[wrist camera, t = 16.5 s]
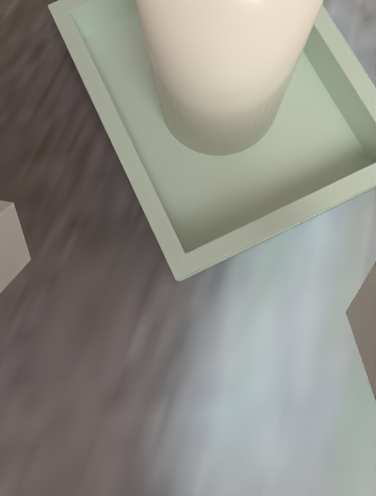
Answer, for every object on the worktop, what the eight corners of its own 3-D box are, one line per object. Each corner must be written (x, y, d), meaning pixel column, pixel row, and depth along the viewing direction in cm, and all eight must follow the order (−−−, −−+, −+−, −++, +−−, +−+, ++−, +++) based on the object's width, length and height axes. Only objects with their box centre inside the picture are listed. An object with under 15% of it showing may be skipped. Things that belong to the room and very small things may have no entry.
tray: (66, 39, 20) (47, 5, 18) (252, -48, 21) (259, -94, 18) (179, 281, 18) (175, 280, 15) (393, 179, 18) (423, 161, 16)
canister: (139, 77, 19) (34, -271, 7) (245, 27, 19) (311, -397, 7) (190, 177, 18) (163, -40, 6) (302, 124, 18) (487, -191, 6)
